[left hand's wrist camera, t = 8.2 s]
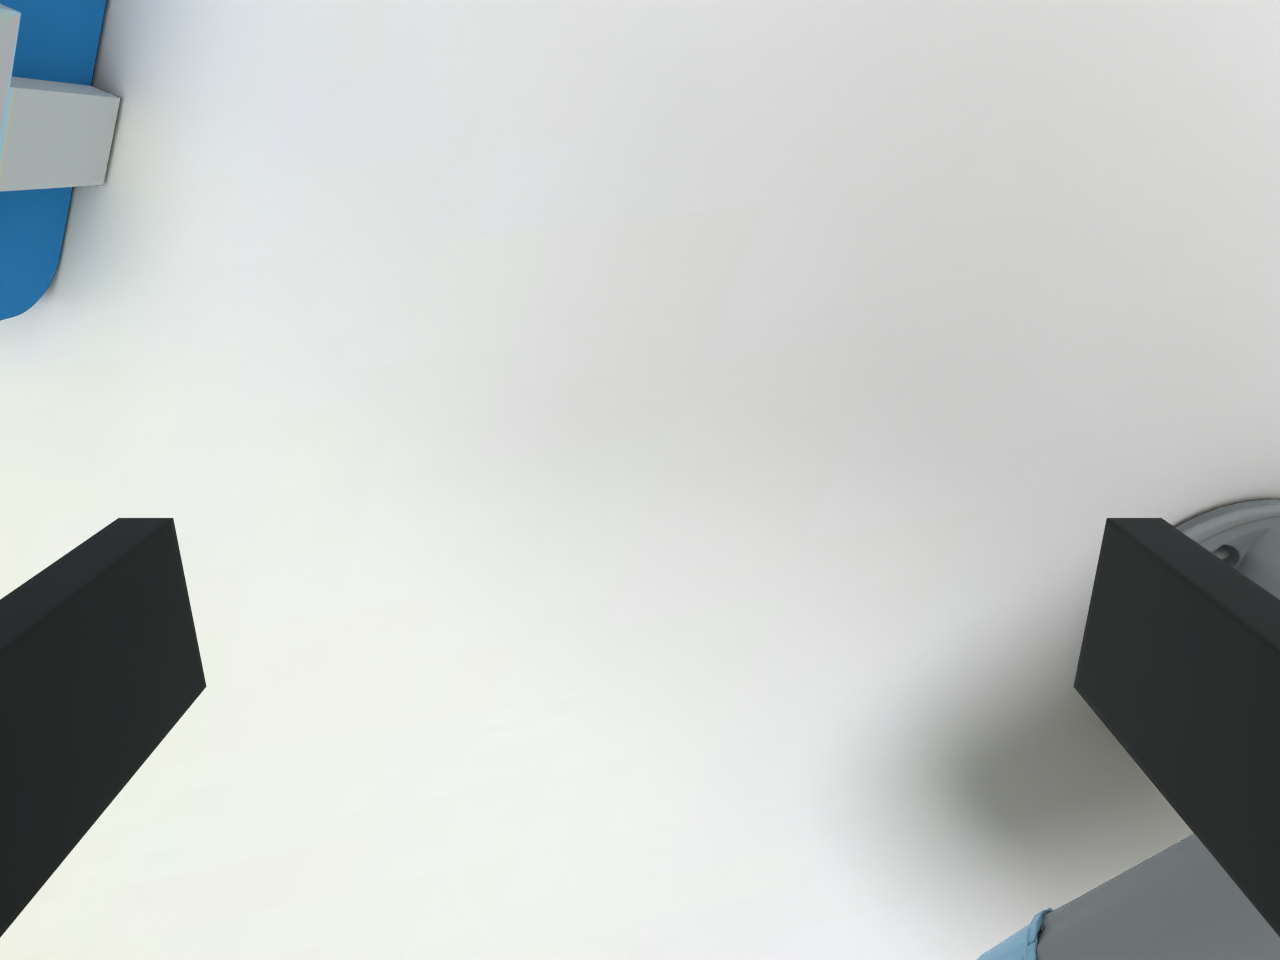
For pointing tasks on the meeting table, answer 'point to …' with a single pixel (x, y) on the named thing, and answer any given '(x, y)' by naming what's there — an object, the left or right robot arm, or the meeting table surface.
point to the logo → (46, 135)
